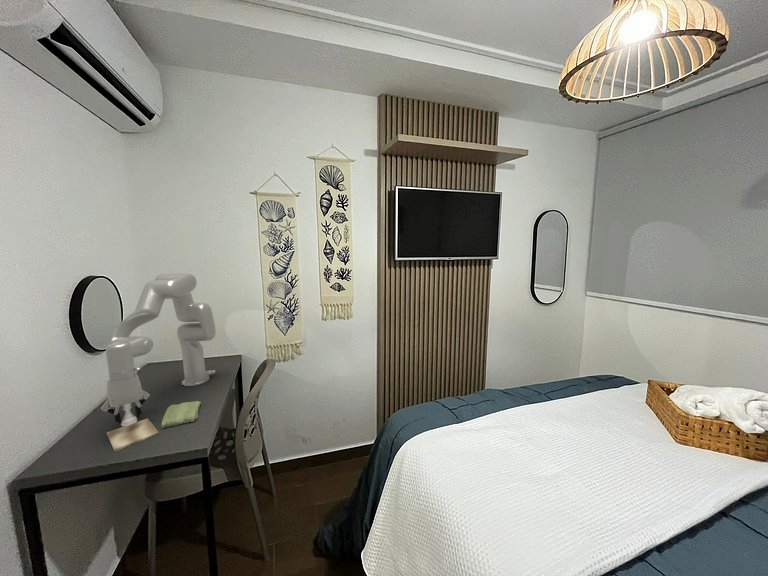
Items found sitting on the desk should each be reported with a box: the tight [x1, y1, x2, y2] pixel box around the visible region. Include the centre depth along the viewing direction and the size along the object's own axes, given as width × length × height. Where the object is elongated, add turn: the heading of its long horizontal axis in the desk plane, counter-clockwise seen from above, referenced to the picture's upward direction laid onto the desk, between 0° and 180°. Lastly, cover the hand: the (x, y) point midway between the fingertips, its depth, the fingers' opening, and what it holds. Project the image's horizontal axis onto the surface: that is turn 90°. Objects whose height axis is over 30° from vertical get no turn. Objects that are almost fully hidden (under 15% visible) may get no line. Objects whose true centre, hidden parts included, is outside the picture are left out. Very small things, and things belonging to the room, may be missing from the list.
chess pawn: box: [120, 403, 138, 427], centre depth 122 cm, size 5×5×9 cm
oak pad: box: [106, 417, 160, 452], centre depth 120 cm, size 13×16×1 cm
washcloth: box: [161, 400, 202, 429], centre depth 133 cm, size 13×18×3 cm
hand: (128, 419), depth 122 cm, fingers closed on chess pawn, 5 cm apart
